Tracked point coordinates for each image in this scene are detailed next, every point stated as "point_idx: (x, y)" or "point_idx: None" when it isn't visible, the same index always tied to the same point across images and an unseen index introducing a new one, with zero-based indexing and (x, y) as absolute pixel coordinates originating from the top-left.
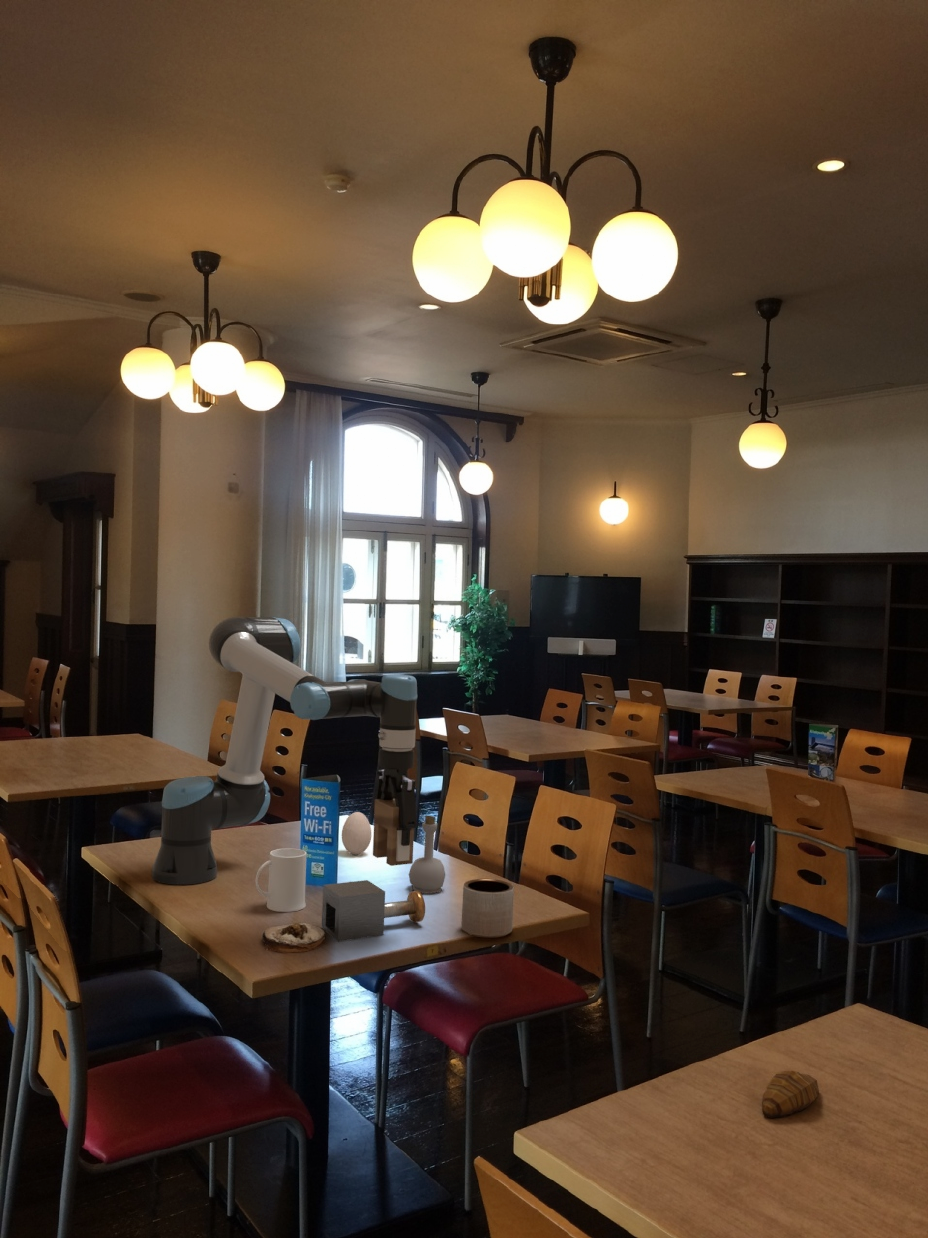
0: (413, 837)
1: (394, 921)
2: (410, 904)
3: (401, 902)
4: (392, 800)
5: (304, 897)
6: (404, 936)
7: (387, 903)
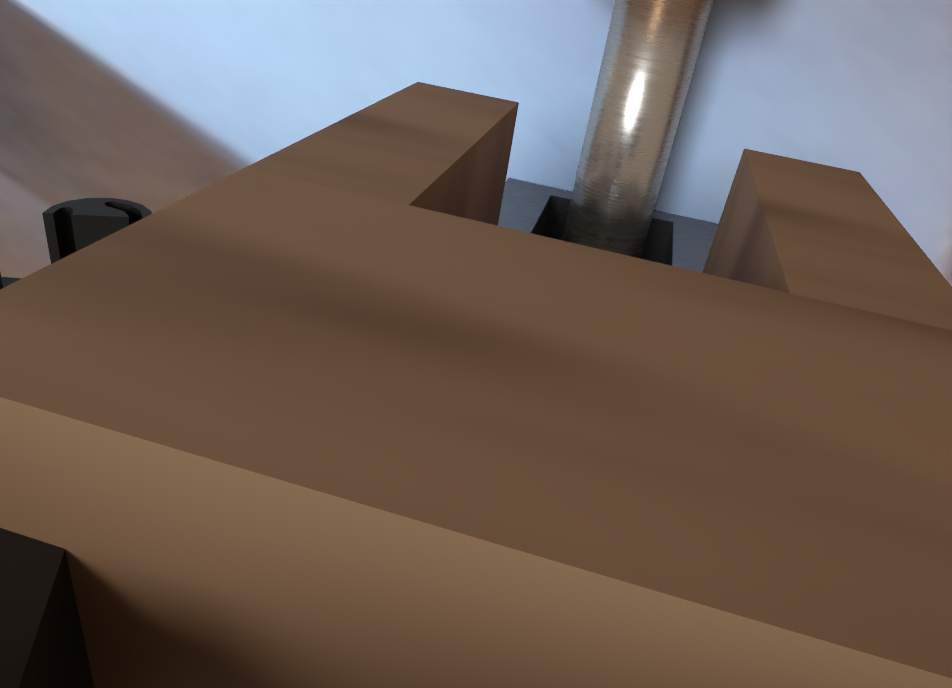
0: (946, 284)
1: (585, 38)
2: (698, 11)
3: (659, 71)
4: (180, 636)
5: None
6: (817, 147)
7: (625, 167)
